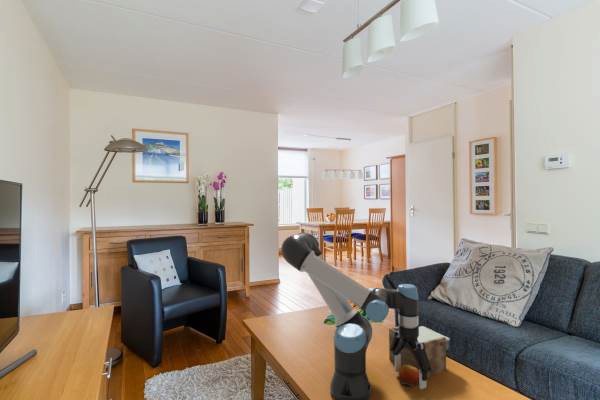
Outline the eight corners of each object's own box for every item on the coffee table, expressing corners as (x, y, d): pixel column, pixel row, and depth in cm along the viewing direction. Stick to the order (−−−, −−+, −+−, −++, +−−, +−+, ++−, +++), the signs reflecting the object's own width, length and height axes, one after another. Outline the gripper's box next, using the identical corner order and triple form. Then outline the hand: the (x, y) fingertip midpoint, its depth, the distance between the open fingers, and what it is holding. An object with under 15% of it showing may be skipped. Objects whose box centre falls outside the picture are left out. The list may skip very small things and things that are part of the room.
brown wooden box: (420, 380, 128) (420, 345, 128) (388, 359, 146) (388, 328, 146) (447, 371, 134) (446, 338, 134) (413, 352, 152) (413, 322, 152)
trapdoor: (419, 358, 131) (418, 346, 131) (393, 343, 145) (393, 332, 145) (449, 349, 138) (449, 338, 138) (423, 336, 152) (422, 326, 152)
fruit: (395, 384, 123) (397, 361, 127) (399, 385, 129) (401, 364, 133) (417, 389, 120) (419, 366, 123) (420, 391, 126) (421, 368, 129)
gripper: (441, 334, 117) (442, 393, 117) (394, 313, 140) (395, 362, 140) (425, 338, 114) (427, 399, 114) (380, 316, 137) (381, 366, 137)
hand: (409, 379), depth 127 cm, fingers open, 13 cm apart
